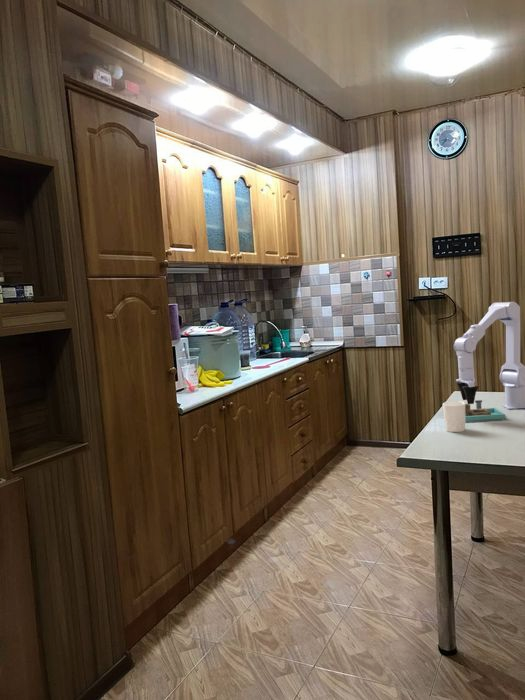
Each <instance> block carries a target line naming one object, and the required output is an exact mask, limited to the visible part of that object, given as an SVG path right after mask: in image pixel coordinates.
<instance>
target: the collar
mask: <svg viewBox="0 0 525 700" xmlns="http://www.w3.org/2000/svg"><path fill="white" fill-rule="evenodd" d="M465 414H466V415H465V416H478V415H491V412H490V411H488V410H487V409H483V408H482V409H476V408H472V410H471V404H468V403H465Z"/></svg>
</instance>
